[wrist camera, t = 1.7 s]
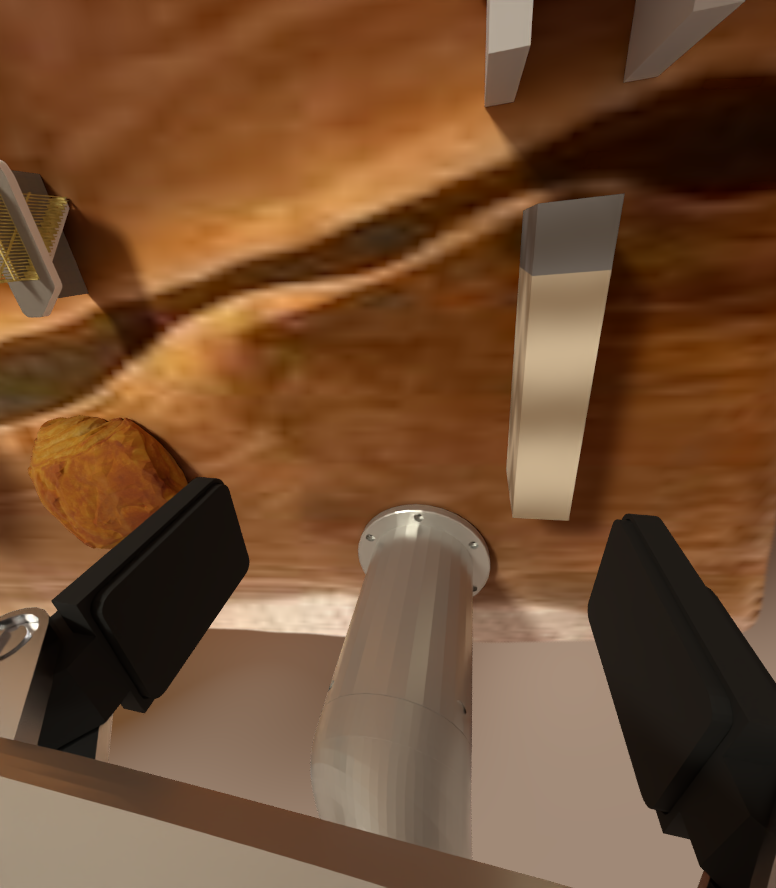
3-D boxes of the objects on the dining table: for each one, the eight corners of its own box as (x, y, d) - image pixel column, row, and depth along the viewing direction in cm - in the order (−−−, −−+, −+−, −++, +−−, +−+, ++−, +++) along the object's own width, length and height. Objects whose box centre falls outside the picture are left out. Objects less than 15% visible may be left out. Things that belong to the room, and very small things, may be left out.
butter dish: (91, 63, 23) (-32, 10, 18) (184, 353, 32) (121, 379, 26) (-52, 92, 26) (-200, 53, 20) (70, 353, 34) (-9, 377, 29)
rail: (552, 471, 30) (568, 520, 25) (506, 469, 31) (512, 517, 25) (588, 203, 21) (624, 193, 16) (523, 210, 22) (538, 203, 17)
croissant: (138, 519, 47) (86, 575, 41) (40, 415, 38) (-45, 465, 32) (232, 511, 42) (189, 573, 36) (143, 391, 34) (67, 444, 27)
